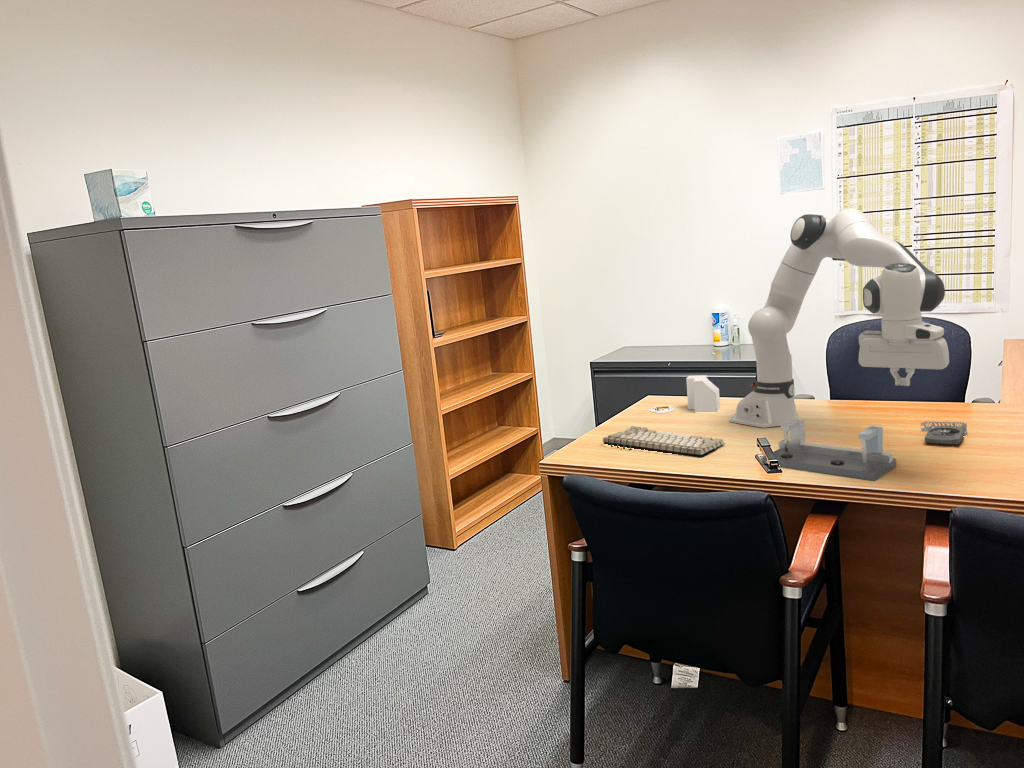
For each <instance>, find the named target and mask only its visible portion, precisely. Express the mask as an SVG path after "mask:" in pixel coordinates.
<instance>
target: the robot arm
mask: <svg viewBox="0 0 1024 768" xmlns="http://www.w3.org/2000/svg"><path fill="white" fill-rule="evenodd" d="M790 242H791V244H790V245H789V246H788V249H787V250H786V252H785V254H784V256H783V257H782V259H781V262H780V264H779V266H778V268H777V271H776V272H775V275H774V277H773V279H772V281H771V283H770V290H769V293H768V297H767V299H766V302H765V305H764V306H763V307H762V308H760V309H758V310H756V311H755V312H754V313H753V314H752V316H751V317H750V319H749V321H748V325H747V329H748V332H749V334H750V336H751V341H752V345H753V349H754V353H755V361H756V376H757V377H756V379H757V380H754V381H753V382H751V383H750V388H751V387H753V388H752V391H751V392H750V393H748V394H747V395H745V396H744V397H743V398H741V400H739V402H738V403H737V405H736V410H735V414H733V415H731V416H730V417H729V423H735V424H740V425H746V426H752V427H756V428H761V429H765V428H771V427H781V425H782V424H784V423H787V422H789V421H790V420H792V419H794V418H796V419H800V418H799V416H798V412H797V409H796V408H797V407H796V403H795V380H794V378H793V365H792V364H793V358H792V357H793V356H792V353H791V352H790V349H789V343H788V339H787V338H788V337H787V334H788V333H789V332H791V331H792V329H793V328H794V326H795V323H796V321H797V318H798V315H799V313H800V312H801V311H800V310H801V308H802V305H803V302H804V299H805V298H806V295H807V293H808V291H809V289H810V287H811V284H812V282H813V280H814V278H815V276H816V274H817V272H818V270H819V267H820V265H821V263H822V261H823V260H824V259H825V258H831V259H832V261H842V262H847V263H849V264H850V265H851V266H855V267H862V268H865V267H867V268H882V270H881V271H882V272H881V274H880V275H878V276H877V277H874V278H871V279H869V280H868V281H867V283H865V285H864V286H863V288H862V301H863V302H862V303H863V307H864V308H865V309H866V310H867V311H868V312H870V313H871V314H875V315H882V316H881V329H878V330H870V329H869V330H864V331H862V332H861V333H860V334H859V335H858V345H859V350H858V364H859V365H860V366H861V367H862V368H863V367H864V368H865V367H866V368H885V369H886V368H889V373H890V374H891V376H892V377H893V378H894V385H895V386H896V387H897V386H900V387H901V386H902V387H909V386H910V385H911V378H912V377H913V375H914V374H915V372H916V369H919V370H943V369H946V368H947V367H948V366H949V364H950V352H949V346H948V341H947V340H946V339H945V338H944V337H943V336H944V335H945V328H944V327H942V326H938V325H935V324H931V323H928V322H926V321H923V315H922V313H924V312H926V313H927V312H928V313H929V312H932V311H934V310H935V309H937V308H938V306H940V304H941V303H942V302H943V300H944V299H945V296H946V292H945V291H946V288H945V284H944V282H943V280H942V279H941V277H939V275H937V274H936V272H934V271H932V270H930V269H928V268H927V267H926V266H925V265H924V264H923V263H922V262H921V261H920V260H919V259H918V258H917V257H916V256H915V255H914V254H913V253H912V252H911V251H910V250H909V249H908V248H907V247H906V246H905V245H904V244H903V243H901V242H899V241H897V240H894V239H892V238H891V237H889V236H887V235H884V234H883V233H882V232H881V231H879V230H878V229H877V227H876V225H875V224H874V222H873V221H872V220H871V219H870V218H869V217H868V215H866V214H865V212H863V211H861V210H859V209H858V208H854V207H850V208H845V209H842V210H841V211H839V212H838V213H837V214H836V215H834V217H833V218H829V217H827V216H824V215H821V214H809V213H808V214H803V215H801V216H799V217H798V218H797V219H796V220H795V221H794V223H793V225H792V227H791V230H790ZM900 369H905V373H906V374H907V375H906V376H905V377H901V376H900V374H899V373H898V371H900Z"/></svg>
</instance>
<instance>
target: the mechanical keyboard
mask: <svg viewBox="0 0 1024 768" xmlns="http://www.w3.org/2000/svg"><path fill="white" fill-rule="evenodd" d="M602 438H603V439H602V442H603V444H608V445H611V447H613V446H612V445H614V446H617V448H619V447H618V446H620V447H623V449H625V447H627V448H630V449H629V450H628V451H631V450H632V449H631V448H634V449H641V450H644V449H645V450H648V451H657V452H663V453H672V454H671V455H673V454H678V455H677V456H682V455H683V456H682V457H690V458H697V459H703V458H705V457H707V456H708V455H711V454H713V453H715V452H716V451H718V449H721V447H723V445H725V444H726V442H725V441H724V438H718V437H714V438H713V437H710V436H709V437H708V436H702V435H701V436H700V435H692V434H686V433H679V432H671V431H662V430H652V429H648V427H641V426H634V425H631V426H630V427H627V428H625V429H622V430H620V431H617V432H615V433H613V434H609V435H608V434H607V436H604V437H602ZM623 449H622V450H623Z"/></svg>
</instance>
